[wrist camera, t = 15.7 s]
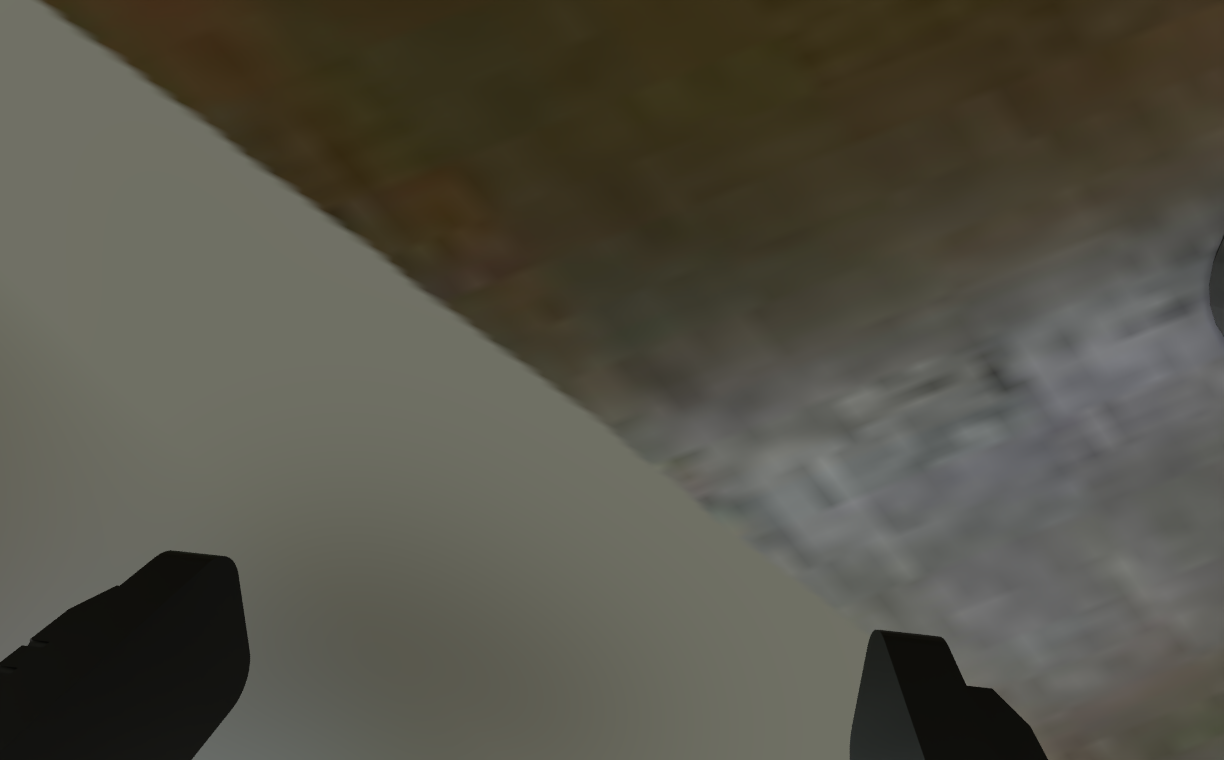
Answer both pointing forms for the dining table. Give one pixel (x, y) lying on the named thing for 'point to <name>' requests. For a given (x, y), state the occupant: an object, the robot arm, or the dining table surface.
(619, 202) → the dining table surface
